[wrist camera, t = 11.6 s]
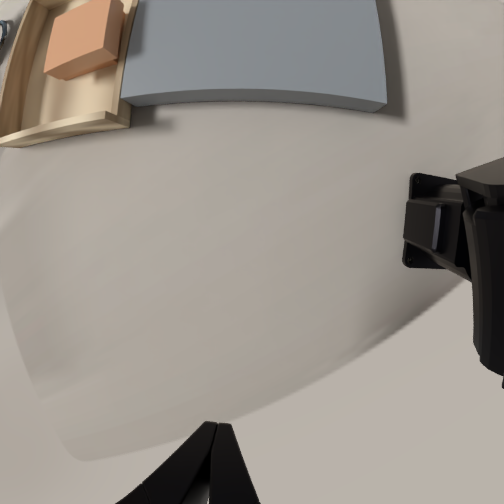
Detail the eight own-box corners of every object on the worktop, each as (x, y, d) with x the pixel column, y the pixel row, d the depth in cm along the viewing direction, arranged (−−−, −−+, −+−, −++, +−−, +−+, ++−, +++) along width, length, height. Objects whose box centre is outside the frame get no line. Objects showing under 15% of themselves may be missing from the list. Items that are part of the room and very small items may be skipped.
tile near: (124, 4, 13) (112, -9, 11) (117, 58, 14) (102, 47, 12) (68, 27, 13) (54, 18, 11) (59, 79, 14) (43, 73, 12)
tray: (157, -27, 14) (144, -49, 11) (129, 127, 18) (104, 118, 14) (50, 10, 15) (31, -3, 11) (19, 148, 18) (-8, 146, 15)
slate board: (360, -15, 14) (368, -32, 11) (373, 112, 17) (387, 103, 14) (159, -17, 15) (149, -33, 12) (136, 107, 17) (120, 98, 15)
